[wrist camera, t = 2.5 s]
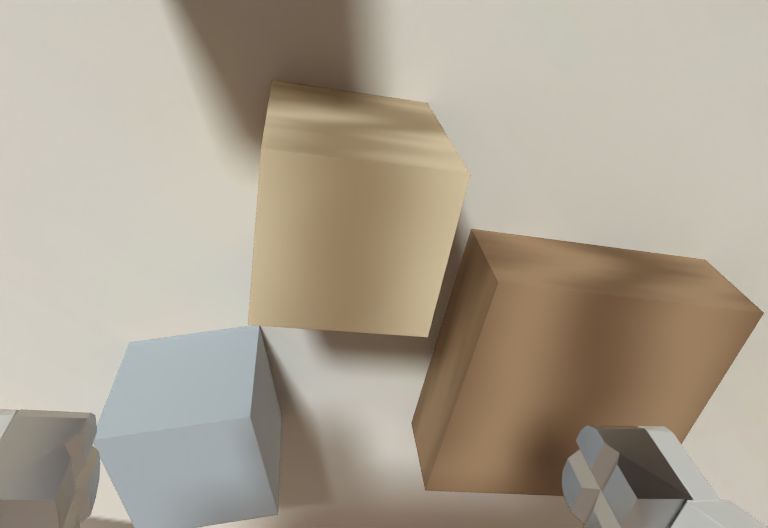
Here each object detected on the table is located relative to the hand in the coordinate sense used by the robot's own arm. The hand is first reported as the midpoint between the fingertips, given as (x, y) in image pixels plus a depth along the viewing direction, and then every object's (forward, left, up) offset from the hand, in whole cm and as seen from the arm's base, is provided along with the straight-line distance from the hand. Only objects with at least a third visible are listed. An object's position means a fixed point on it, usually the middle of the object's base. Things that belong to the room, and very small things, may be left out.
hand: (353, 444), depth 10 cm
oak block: (0, 0, -12) cm, 12 cm away
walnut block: (-10, +7, -13) cm, 18 cm away
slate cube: (+4, +10, -12) cm, 16 cm away
